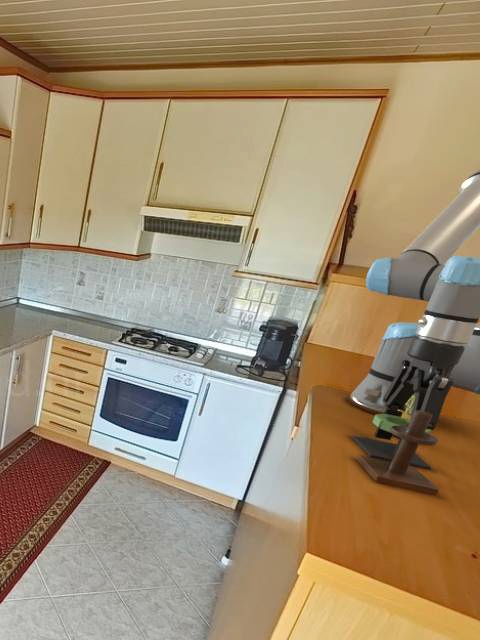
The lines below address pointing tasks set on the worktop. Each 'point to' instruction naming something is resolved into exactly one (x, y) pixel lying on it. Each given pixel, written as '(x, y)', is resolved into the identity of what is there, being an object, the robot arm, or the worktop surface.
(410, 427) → the peg stand
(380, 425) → the ring
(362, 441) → the mat
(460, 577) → the worktop surface
